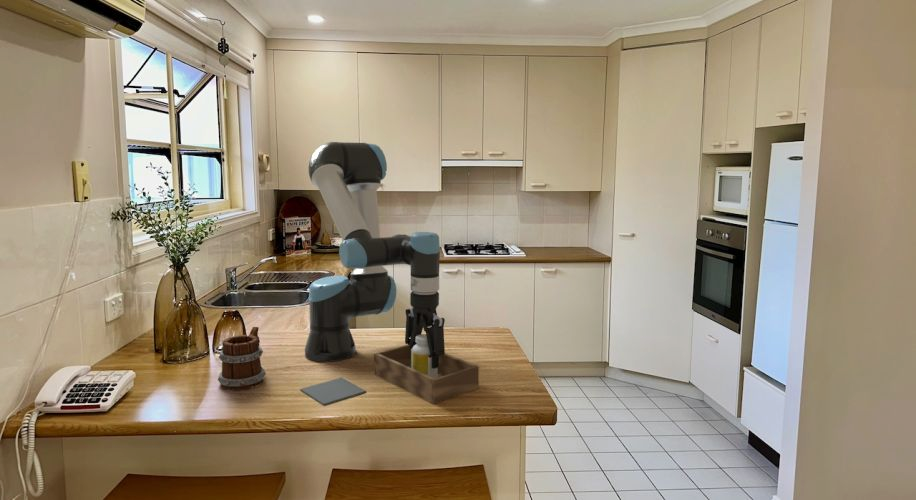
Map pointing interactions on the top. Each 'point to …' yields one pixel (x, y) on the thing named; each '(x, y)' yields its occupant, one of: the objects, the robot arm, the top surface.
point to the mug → (241, 362)
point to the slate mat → (332, 391)
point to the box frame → (434, 390)
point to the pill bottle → (420, 354)
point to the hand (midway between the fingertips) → (424, 374)
